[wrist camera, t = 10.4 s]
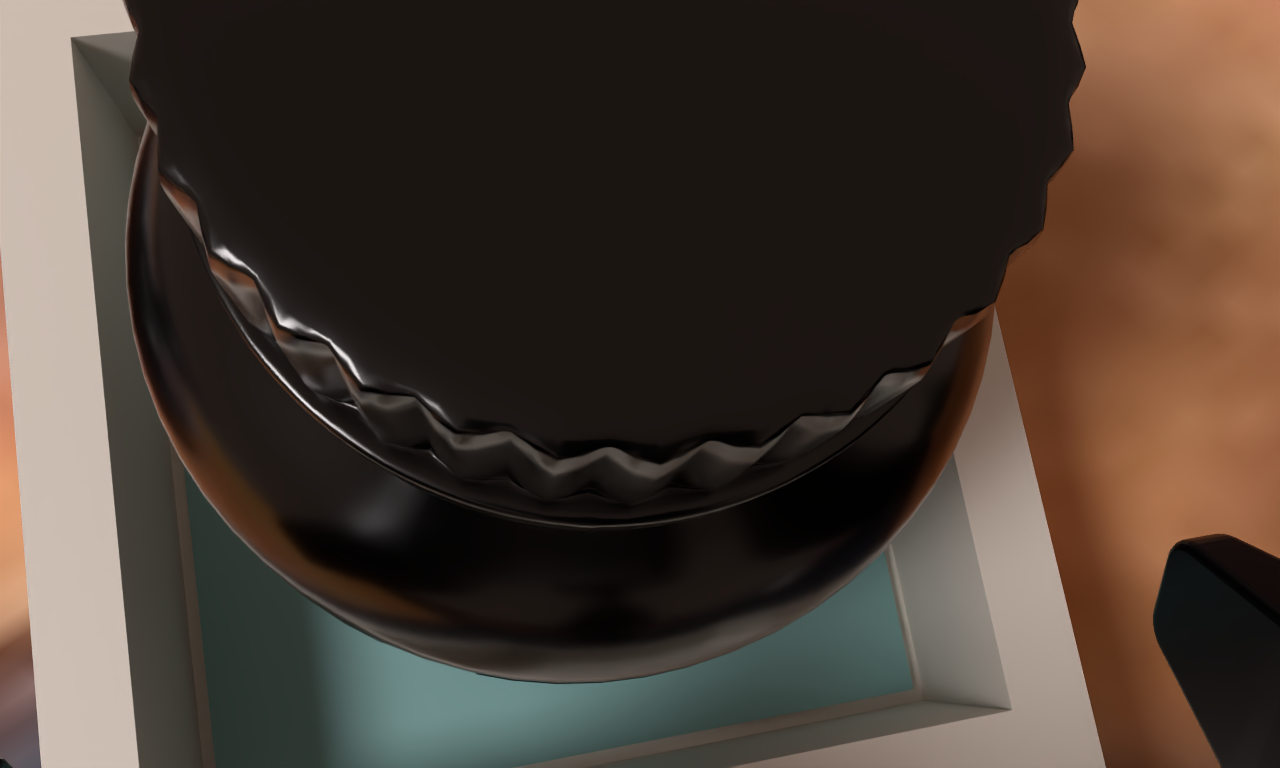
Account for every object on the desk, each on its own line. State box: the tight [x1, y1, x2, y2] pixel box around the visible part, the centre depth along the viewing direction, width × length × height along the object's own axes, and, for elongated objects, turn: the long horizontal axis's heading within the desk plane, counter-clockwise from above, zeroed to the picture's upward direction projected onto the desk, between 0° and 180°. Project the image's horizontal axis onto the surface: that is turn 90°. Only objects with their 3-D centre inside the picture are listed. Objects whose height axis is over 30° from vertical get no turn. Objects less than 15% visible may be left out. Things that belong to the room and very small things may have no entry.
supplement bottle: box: [123, 0, 1086, 684], centre depth 12 cm, size 7×7×12 cm
